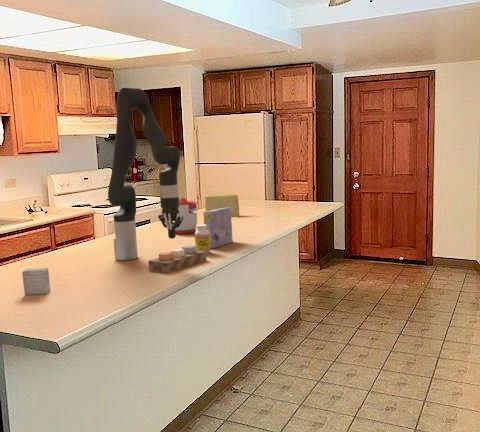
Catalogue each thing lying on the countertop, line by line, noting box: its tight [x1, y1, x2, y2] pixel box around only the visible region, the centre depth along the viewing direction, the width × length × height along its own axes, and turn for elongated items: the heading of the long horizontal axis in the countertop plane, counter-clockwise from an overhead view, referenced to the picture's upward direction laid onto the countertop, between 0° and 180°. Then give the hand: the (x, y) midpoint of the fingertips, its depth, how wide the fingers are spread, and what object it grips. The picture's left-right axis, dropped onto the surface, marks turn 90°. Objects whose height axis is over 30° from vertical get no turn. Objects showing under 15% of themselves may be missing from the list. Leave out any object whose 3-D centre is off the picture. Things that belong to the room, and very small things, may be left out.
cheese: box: [204, 193, 240, 218], centre depth 354 cm, size 22×10×15 cm, turn 67°
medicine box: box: [21, 267, 51, 296], centre depth 192 cm, size 8×4×9 cm, turn 92°
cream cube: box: [170, 248, 185, 258], centre depth 224 cm, size 4×4×4 cm
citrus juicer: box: [175, 196, 199, 235], centre depth 301 cm, size 16×17×20 cm
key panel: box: [147, 250, 207, 274], centre depth 224 cm, size 24×10×4 cm, turn 143°
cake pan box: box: [202, 207, 234, 249], centre depth 262 cm, size 19×5×18 cm, turn 149°
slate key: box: [181, 245, 196, 254], centre depth 230 cm, size 4×4×4 cm
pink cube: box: [158, 251, 173, 261], centre depth 219 cm, size 4×4×4 cm
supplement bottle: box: [194, 223, 211, 254], centre depth 246 cm, size 7×7×13 cm
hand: (172, 238), depth 221 cm, fingers closed
